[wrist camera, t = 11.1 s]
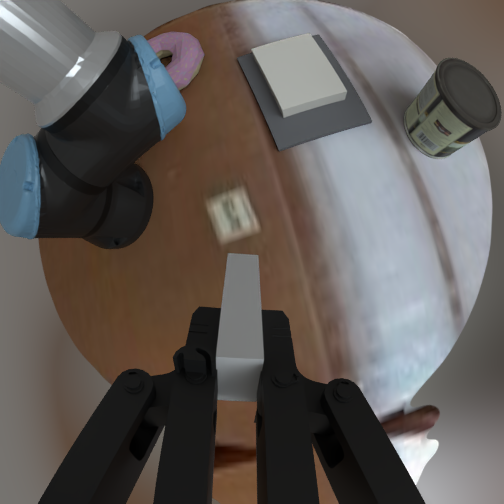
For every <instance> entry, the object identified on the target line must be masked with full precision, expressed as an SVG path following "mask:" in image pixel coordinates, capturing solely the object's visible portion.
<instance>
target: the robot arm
mask: <svg viewBox="0 0 504 504" xmlns="http://www.w3.org/2000/svg"><path fill="white" fill-rule="evenodd" d="M0 83H2V84H3V85H5V86H6V87H8V88H10V89H11V90H13V91H15V92H16V93H18V94H19V95H21V96H22V97H24V98H26V99H27V100H29V101H30V102H32V103H33V104H34V108H35V119H36V124H37V125H38V126H39V127H41V130H40V131H39V132H38V133H37V135H36V136H34V137H33V136H32V135H30V134H25V135H20V136H17V137H15V138H14V139H13V140H12V141H11V143H10V144H9V146H8V147H7V149H6V151H5V153H4V156H3V158H2V161H1V165H0V223H1V225H2V227H3V228H4V230H5V231H6V232H7V233H8V234H10V235H12V236H15V237H24V238H28V239H33V238H83V239H84V240H86V241H88V242H90V243H92V244H94V245H96V246H98V247H100V248H104V249H119V248H124V247H126V246H128V245H130V244H132V243H133V242H134V241H136V240H137V239H138V238H139V237H140V235H141V234H142V233H143V231H144V230H145V228H146V226H147V224H148V222H149V219H150V216H151V213H152V208H153V190H152V186H151V182H150V180H149V177H148V176H147V174H146V173H145V171H144V170H143V169H142V168H141V167H140V166H138V165H137V164H135V163H134V162H135V161H136V160H137V159H138V158H140V157H141V156H142V155H143V154H144V153H145V152H147V151H148V150H149V149H150V148H151V147H153V146H154V145H155V144H156V143H157V142H159V141H160V140H163V138H165V135H166V134H167V133H168V132H169V131H171V130H172V129H173V128H174V127H175V126H176V125H178V124H179V123H180V122H181V121H182V120H183V118H184V116H185V113H186V104H185V101H184V99H183V97H182V95H181V93H180V92H179V90H178V88H177V86H176V85H175V83H174V81H173V80H172V78H171V76H170V75H169V73H168V71H167V70H166V68H165V67H164V65H163V64H162V63H161V62H160V59H159V58H158V57H157V55H156V53H155V51H154V50H153V48H152V47H151V46H150V44H149V43H148V42H147V40H146V39H145V38H144V37H143V36H142V35H136V36H134V37H131V38H129V39H128V41H126V39H125V38H124V37H123V36H122V35H121V34H120V33H119V32H118V31H105V32H95V31H93V30H92V29H91V28H90V27H89V26H88V25H87V24H86V23H85V22H84V21H83V20H82V19H81V18H80V17H79V16H77V15H76V14H75V13H74V12H73V11H72V10H71V9H70V8H69V7H68V6H67V5H65V4H64V3H63V2H62V1H61V0H0ZM173 361H174V366H175V370H174V371H172V372H170V373H167V374H163V375H155V376H150V375H149V374H148V373H147V372H145V371H143V370H140V369H129V370H126V371H124V372H122V373H121V374H120V375H119V376H118V377H117V379H116V380H115V382H114V383H113V384H112V386H111V387H110V389H109V390H108V392H107V393H106V395H105V396H104V398H103V399H102V401H101V402H100V404H99V406H98V407H97V409H96V410H95V411H94V413H93V414H92V416H91V417H90V419H89V421H88V422H87V424H86V425H85V427H84V428H83V430H82V431H81V433H80V434H79V436H78V438H77V439H76V441H75V442H74V444H73V446H72V447H71V449H70V450H69V452H68V454H67V455H66V457H65V458H64V460H63V462H62V463H61V465H60V467H59V468H58V470H57V472H56V474H55V475H54V477H53V478H52V480H51V482H50V483H49V485H48V487H47V489H46V490H45V492H44V494H43V495H42V497H41V499H40V501H39V502H38V504H126V502H127V500H128V498H129V496H130V494H131V492H132V490H133V488H134V486H135V484H136V482H137V480H138V478H139V476H140V474H141V472H142V470H143V468H144V466H145V464H146V462H147V460H148V458H149V456H150V453H151V452H152V450H153V448H154V446H155V444H156V442H157V440H158V437H159V435H160V433H161V432H162V430H163V428H164V426H165V431H164V437H163V443H162V449H161V455H160V461H159V468H158V474H157V481H156V487H155V496H154V503H153V504H212V486H213V468H214V451H215V435H216V420H217V400H230V401H254V402H256V400H257V411H256V416H255V421H254V423H256V452H257V504H319V496H318V487H317V479H316V471H315V463H314V455H313V448H312V444H313V446H314V448H315V451H316V453H317V455H318V457H319V460H320V462H321V464H322V467H323V469H324V471H325V473H326V476H327V478H328V480H329V482H330V485H331V487H332V489H333V491H334V494H335V496H336V498H337V500H338V502H339V504H425V502H424V500H423V498H422V497H421V494H420V493H419V491H418V489H417V487H416V485H415V484H414V482H413V480H412V478H411V476H410V475H409V473H408V471H407V469H406V467H405V466H404V464H403V462H402V460H401V459H400V457H399V455H398V453H397V452H396V450H395V448H394V446H393V445H392V443H391V441H390V439H389V438H388V436H387V434H386V432H385V431H384V429H383V427H382V426H381V424H380V422H379V420H378V419H377V417H376V415H375V414H374V412H373V410H372V409H371V407H370V405H369V403H368V402H367V400H366V398H365V397H364V395H363V393H362V392H361V390H360V388H359V387H358V386H357V385H356V384H355V383H354V382H352V381H350V380H348V379H343V378H340V379H334V380H332V381H330V382H329V383H328V384H323V383H319V382H315V381H312V380H309V379H307V378H305V377H304V376H303V375H302V374H301V373H300V372H299V371H298V369H297V367H296V363H295V356H294V350H293V343H292V338H291V331H290V325H289V319H288V318H287V316H286V315H285V314H284V312H283V311H277V310H261V295H260V278H259V261H258V255H247V254H232V253H228V258H227V266H226V274H225V282H224V290H223V298H222V307H221V308H211V307H198V309H197V310H196V311H195V312H194V313H193V315H192V319H191V323H190V328H189V333H188V337H187V341H186V346H184V347H181V348H180V349H179V350H178V351H176V353H175V354H174V356H173Z"/></svg>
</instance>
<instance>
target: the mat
mask: <svg viewBox="0 0 504 504" xmlns="http://www.w3.org/2000/svg"><path fill="white" fill-rule="evenodd" d="M312 37H313V39H314V40H315V41H316V43H317V44H318V46H319V47H320V49H321V50H322V52H323V53H324V55H325V56H326V58H327V59H328V61H329V62H330V64H331V65H332V67H333V68H334V70H335V72H336V73H337V75H338V77H339V78H340V80H341V82H342V83H343V85H344V87H345V88H346V90H347V94H346V98H345V100H341V101H338V102H334V103H330V104H327V105H323V106H320V107H316V108H313V109H310V110H306V111H303V112H300V113H297V114H294V115H291V116H288V117H285V118H283V115H282V113H281V111H280V109H279V107H278V105H277V103H276V101H275V99H274V96H273V94H272V92H271V90H270V88H269V86H268V84H267V82H266V80H265V78H264V76H263V74H262V73H261V71H260V69H259V67H258V65H257V63H256V61H255V59H254V57H253V53H250V54H247V55H244V56H241V57H238V58H237V59H238V61H239V63H240V65H241V67H242V69H243V72H244V74H245V76H246V78H247V80H248V82H249V84H250V86H251V88H252V91H253V93H254V95H255V97H256V99H257V101H258V104H259V106H260V108H261V110H262V113H263V115H264V117H265V119H266V122H267V124H268V126H269V128H270V131H271V133H272V135H273V138H274V140H275V143H276V145H277V147H278V150H279V151H282V150H285V149H288V148H291V147H294V146H297V145H300V144H303V143H306V142H309V141H312V140H315V139H318V138H321V137H324V136H328V135H331V134H334V133H337V132H341V131H344V130H348V129H351V128H355V127H358V126H362V125H365V124H369V123H371V122H372V120H371V118H370V116H369V114H368V112H367V110H366V108H365V107H364V105H363V103H362V101H361V99H360V98H359V96H358V94H357V92H356V91H355V89H354V87H353V85H352V84H351V82H350V80H349V79H348V77H347V76H346V74H345V72H344V71H343V69H342V68H341V66H340V64H339V63H338V61H337V60H336V58H335V57H334V55H333V54H332V52H331V51H330V50H329V48H328V47H327V45H326V44H325V42H324V41H323V40H322V38H321V37H320V35H315V36H312Z"/></svg>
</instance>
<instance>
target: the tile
mask: <svg viewBox="0 0 504 504" xmlns="http://www.w3.org/2000/svg"><path fill="white" fill-rule="evenodd" d="M251 50H252V53H253V57H254V59H255V61H256V63H257V65H258V67H259V69H260V71H261V73H262V74H263V76H264V78H265V80H266V82H267V84H268V86H269V88H270V90H271V92H272V94H273V96H274V99H275V101H276V103H277V105H278V107H279V109H280V111H281V113H282V115H283V118H285V117H288V116H291V115H294V114H297V113H300V112H303V111H306V110H310V109H313V108H316V107H320V106H323V105H327V104H330V103H334V102H338V101H341V100H345V98H346V94H347V90H346V88H345V87H344V85H343V83H342V82H341V80H340V78H339V77H338V75H337V73H336V72H335V70H334V68H333V67H332V65H331V64H330V62H329V61H328V59H327V58H326V56H325V55H324V53H323V52H322V50H321V49H320V47H319V46H318V44H317V43H316V41H315V40H314V39H313V37H312V36H311V34H310V33H307V34H303V35H299V36H295V37H291V38H287V39H283V40H279V41H276V42H272V43H269V44H266V45H262V46H259V47H256V48H253V49H251Z"/></svg>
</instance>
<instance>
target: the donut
mask: <svg viewBox="0 0 504 504" xmlns="http://www.w3.org/2000/svg"><path fill="white" fill-rule="evenodd" d="M147 42H148V43H149V44H150V46H151V47H152V48H153V50H154V51H155V53H156V55H157V57H158V58H159V59H161V58H164V57H167V56H170V55H173V56H172V61H171V62H170V63H169V64H168V65H167V67H166V70H167V71H168V73H169V75H170V76H171V78H172V80H173V81H174V83H175V85H176V86H177V88H178V90H181V89H183V88H185V87H186V86H187V85H188V84H189V83H190V82H191V81H192V79H193V78H194V77H195V76H196V75H197V74H198V72H199V69H200V66H201V63H202V61H203V56H204V53H203V50H202V48H201V45H200V43H199V41H198V40H197V39H196V38H194V37H193V36H191V35H190V34H189V33H181V32H169V33H164V34H161V35H159V36H156V37H154V38H152V39H150V40H148V41H147Z"/></svg>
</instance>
